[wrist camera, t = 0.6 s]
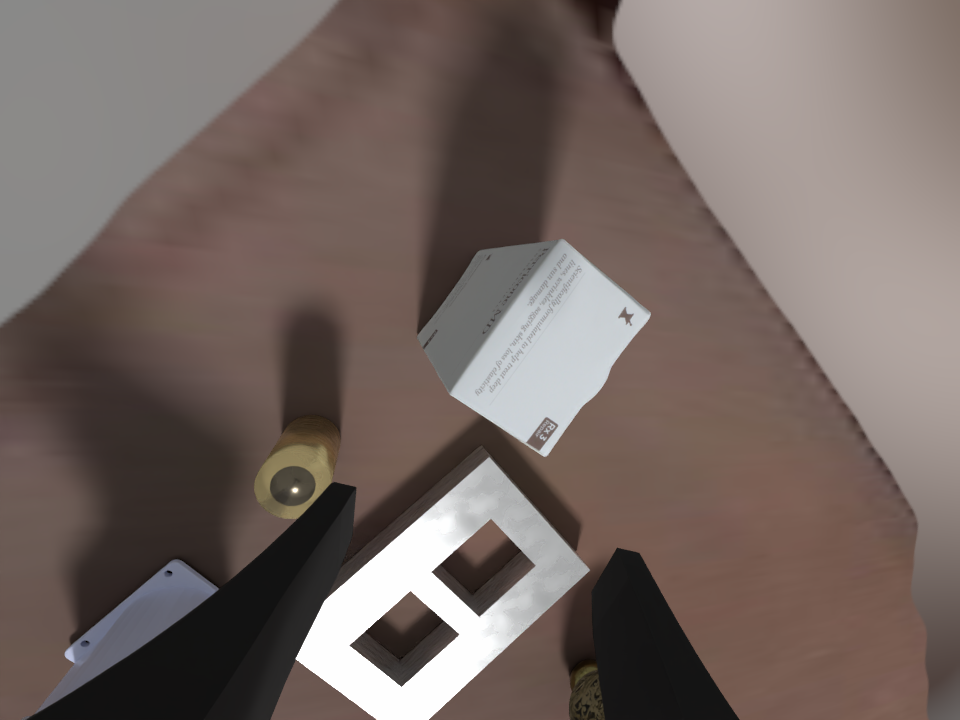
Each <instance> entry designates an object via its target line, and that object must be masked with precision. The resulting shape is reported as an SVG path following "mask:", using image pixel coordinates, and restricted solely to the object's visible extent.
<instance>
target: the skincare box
mask: <svg viewBox="0 0 960 720" xmlns="http://www.w3.org/2000/svg"><path fill="white" fill-rule="evenodd" d="M650 316H651V313H650V312H649V311H648V310H647V309H646V308H645V307H643V306H642V305H641V304H640V303H638V302H637V301H636V300H635V299H634V298H633V297H632V296H631V295H629V294H628V293H627V292H626V291H625V290H623V289H622V288H621V287H620V286H619V285H617V284H616V283H615V282H614V281H613V280H611V279H610V278H609V277H608V276H607V275H605V274H604V273H603V272H602V271H601V270H599V269H598V268H597V267H596V266H595V265H593V264H592V263H591V262H590V261H589V260H587V259H586V258H585V257H584V256H583V255H581V254H580V253H579V252H578V251H576V250H575V249H574V248H573V247H572V246H571V245H570V244H569V243H567V242H566V241H565V240H564V239H560V240H554V241H547V242H539V243H532V244H523V245H515V246H506V247H500V248H491V249H484V250H479V251H478V252H477V253H476V255H475V256H474V258H473V259H472V261H471V263H470V265H469V266H468V268H467V269H466V271H465V272H464V274H463V275H462V277H461V278H460V280H459V281H458V283H457V284H456V286H455V287H454V289H453V290H452V291H451V293H450V294H449V295H448V297H447V298H446V300H445V301H444V302H443V304H442V305H441V306H440V308H439V309H438V310H437V312H436V313H435V314H434V315H433V317H432V318H431V319H430V321H429V322H428V323H427V324H426V325H425V327H424V328H423V329H422V330H421V332H420V333H419V334H418V336H417V339H418V340H419V342H420V344H421V346H422V347H423V349H424V351H425V353H426V354H427V356H428V358H429V360H430V361H431V363H432V364H433V366H434V368H435V370H436V372H437V374H438V376H439V377H440V379H441V380H442V382H443V384H444V386H445V387H446V389H447V390H448V392H449V394H450V395H451V396H453V397H455V398H456V399H458V400H459V401H461V402H462V403H464V404H465V405H467V406H468V407H470V408H471V409H473V410H474V411H476V412H477V413H479V414H480V415H482V416H483V417H485V418H486V419H488V420H490V421H491V422H493V423H494V424H496V425H497V426H499V427H500V428H502V429H503V430H505V431H506V432H508V433H509V434H511V435H512V436H514V437H515V438H517V439H518V440H520V441H521V442H523V443H524V444H526V445H527V446H529V447H530V448H532V449H533V450H535V451H536V452H538V453H539V454H541V455H542V456H544V457H545V456H547V455H548V454H549V453H550V451H551V450H552V448H553V447H554V445H555V444H556V443H557V441H558V440H559V438H560V437H561V435H562V434H563V432H564V431H565V430H566V428H567V427H568V425H569V424H570V423H571V421H572V420H573V418H574V417H575V416H576V414H577V413H578V411H579V410H580V409H581V407H582V406H583V405H584V404H585V403H587V402H588V401H589V400H590V399H592V398H593V397H594V396H595V395H596V394H597V393H598V392H599V390H600V389H601V388H602V386H603V385H604V383H605V382H606V380H607V377H608V375H609V372H610V369H611V367H612V365H613V364H614V362H615V361H616V360H617V358H618V357H619V355H620V354H621V353H622V351H623V350H624V349H625V348H626V346H627V345H628V344H629V342H630V341H631V340H632V338H633V337H634V336H635V335H636V334H637V333H638V331H639V330H640V329H641V328H642V327H643V326H644V324H645V323H646V322H647V321H648V319H649V318H650Z"/></svg>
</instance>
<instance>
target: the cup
mask: <svg viewBox="0 0 960 720" xmlns="http://www.w3.org/2000/svg"><path fill="white" fill-rule="evenodd" d="M570 687H571V690H572V693H571V696H570V702H569V716H570V720H605V717H604V710H603V703H602V696H601V689H600V682H599V675H598V668H597V661H596V660H591V659H588V660H584V661H582V662H580V663H579V664H577V665H576V666H575V667H574V669H573V670H572V672H571V675H570Z"/></svg>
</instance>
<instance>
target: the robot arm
mask: <svg viewBox="0 0 960 720" xmlns="http://www.w3.org/2000/svg"><path fill="white" fill-rule="evenodd" d="M355 498H356V487H353V486H349V485H345V484H340V483H336V482H333V483H331V484H330V485H329V486H328V487H327V488H326V489H325V490H324V492H323V493H322V494H321V495H320V496H319V497H318V498H317V499H316V500H315V501H314V502H313V504H312V505H311V506H310V507H309V508H308V509H307V510H306V511H305V512H304V513H303V514H302V515H301V516H300V517H299V518H298V519H297V520H296V521H295V522H294V523H293V524H292V525H291V526H290V527H289V528H288V529H287V530H286V531H285V532H284V533H283V534H281V535H280V536H279V537H278V538H277V539H276V540H275V541H274V542H273V543H272V544H271V545H270V546H269V547H268V548H267V549H266V550H264V551H263V552H262V553H261V554H260V555H259V556H258V557H256V558H255V559H254V560H253V561H252V562H251V563H250V564H248V565H247V566H246V567H245V568H244V569H243V570H242V571H240V572H239V573H238V574H237V575H236V576H235V577H233V578H232V579H231V580H230V581H229V582H227V583H226V584H225V585H224V586H222V587H221V588H220V589H219V588H217V587H216V586H215V585H213V584H212V583H211V582H209V581H208V580H207V579H205V578H204V577H203V576H201V575H200V574H199V573H197V572H196V571H195V570H193V569H192V568H191V567H189V566H188V565H187V564H185V563H184V562H183V561H181V560H178V559H175V560H172V561H170V562H169V563H168V564H167V565H166V566H164V567H163V568H162V569H161V570H160V571H158V572H157V573H156V574H155V575H154V576H153V577H151V578H150V579H149V580H148V581H147V582H145V583H144V584H143V585H142V586H141V587H139V588H138V589H137V590H136V591H135V592H134V593H132V594H131V595H130V596H129V597H128V598H126V599H125V600H124V601H123V602H122V603H120V604H119V605H118V606H117V607H116V608H115V609H113V610H112V611H111V612H110V613H109V614H107V615H106V616H105V617H104V618H103V619H101V620H100V621H99V622H98V623H97V624H96V625H94V626H93V627H92V628H91V629H90V630H88V631H87V632H86V633H85V634H84V635H82V636H81V637H80V638H79V639H78V640H77V641H75V642H74V643H73V644H72V645H71V646H70V647H69V648H68V649H67V650H66V651H65V657H66V658H67V659H69V660H70V661H72V662H74V663H75V664H74V665H73V666H72V668H71V669H70V670H69V671H68V673H67V674H66V675H65V676H64V678H63V679H62V680H61V681H60V683H59V684H58V685H57V686H56V688H55V689H54V690H53V691H52V693H51V694H50V695H49V697H48V698H47V699H46V700H45V702H44V703H43V704H42V705H41V707H40V708H39V709H38V710H37V712H36V713H35V714H34V715H33V716H26V717H24V718H22V719H21V720H270V719H271V717H272V714H273V712H274V709H275V707H276V704H277V702H278V699H279V697H280V694H281V692H282V689H283V687H284V684H285V682H286V680H287V678H288V675H289V673H290V671H291V669H292V667H293V664H294V662H295V660H296V658H297V656H298V654H299V652H300V650H301V648H302V646H303V644H304V642H305V640H306V638H307V636H308V634H309V632H310V630H311V628H312V626H313V624H314V622H315V620H316V618H317V616H318V614H319V612H320V610H321V608H322V606H323V604H324V602H325V600H326V598H327V596H328V594H329V592H330V590H331V588H332V586H333V583H334V581H335V579H336V577H337V575H338V573H339V570H340V568H341V565H342V562H343V560H344V557H345V554H346V552H347V549H348V546H349V544H350V541H351V538H352V534H353V522H354V510H355ZM168 570H169V571H171V572H172V573H171V574H170V573H168V572H167V571H168ZM592 625H593V638H594V646H595V653H596V660H597V668H598V675H599V682H600V689H601V696H602V703H603V710H604V717H605V720H739V718H738V717H737V715H736V714H735V712H734V711H733V710H732V708H731V707H730V705H729V704H728V702H727V701H726V699H725V698H724V696H723V695H722V693H721V692H720V690H719V688H718V687H717V685H716V684H715V682H714V681H713V679H712V678H711V676H710V674H709V673H708V671H707V670H706V668H705V666H704V665H703V663H702V662H701V660H700V658H699V657H698V655H697V654H696V652H695V650H694V649H693V647H692V645H691V643H690V642H689V640H688V638H687V637H686V635H685V633H684V632H683V630H682V628H681V627H680V625H679V623H678V621H677V620H676V618H675V616H674V614H673V613H672V611H671V609H670V607H669V606H668V604H667V602H666V600H665V598H664V597H663V595H662V593H661V591H660V589H659V588H658V586H657V584H656V582H655V580H654V579H653V577H652V575H651V573H650V571H649V569H648V568H647V566H646V564H645V562H644V560H643V559H642V557H641V555H640V553H637V552H633V551H629V550H624V549H620V548H617V549H616V551H615V552H614V554H613V556H612V558H611V559H610V561H609V563H608V564H607V566H606V568H605V570H604V571H603V573H602V575H601V576H600V578H599V580H598V581H597V583H596V585H595V587H594V588H593V590H592ZM85 641H89V642H90V643H88V642H85Z"/></svg>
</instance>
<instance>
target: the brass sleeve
mask: <svg viewBox="0 0 960 720" xmlns="http://www.w3.org/2000/svg"><path fill="white" fill-rule="evenodd" d="M339 448H340V434H339V431H338V429H337V428H336V426H335V425H334V424H333V423H332V422H331V421H329V420H328V419H326V418H324V417H321V416H317V415H307V416H302V417H300V418H297V419H295V420H294V421H292V422H291V423H290V424H289V425H288V426H287V428H286V429H285V431H284V432H283V434H282V435H281V437H280V439H279V440H278V442H277V443H276V445H275V446H274V448H273V450H272V451H271V453H270V454H269V456H268V457H267V459H266V461H265V462H264V464H263V465H262V467H261V469H260V470H259V472H258V474H257V476H256V479H255V484H254V491H255V495H256V498H257V500H258V502H259V504H260V505H261V506H262V507H263V508H264V509H265V510H266V511H267V512H269V513H271V514H272V515H275V516H277V517H281V518H286V519H295V518H299V517H300V516H301V515H302V514H303V513H304V512H305V511H306V510H307V509H308V508H309V507H310V506H311V505H312V504H313V502H314V501H315V500H316V499H317V498H318V497H319V496H320V495H321V494H322V493H323V492H324V490H325V489H326V488H327V487H328V486H329V485H330V484H331V483H332V478H333V474H334V470H335V465H336V461H337V457H338V452H339Z"/></svg>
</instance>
